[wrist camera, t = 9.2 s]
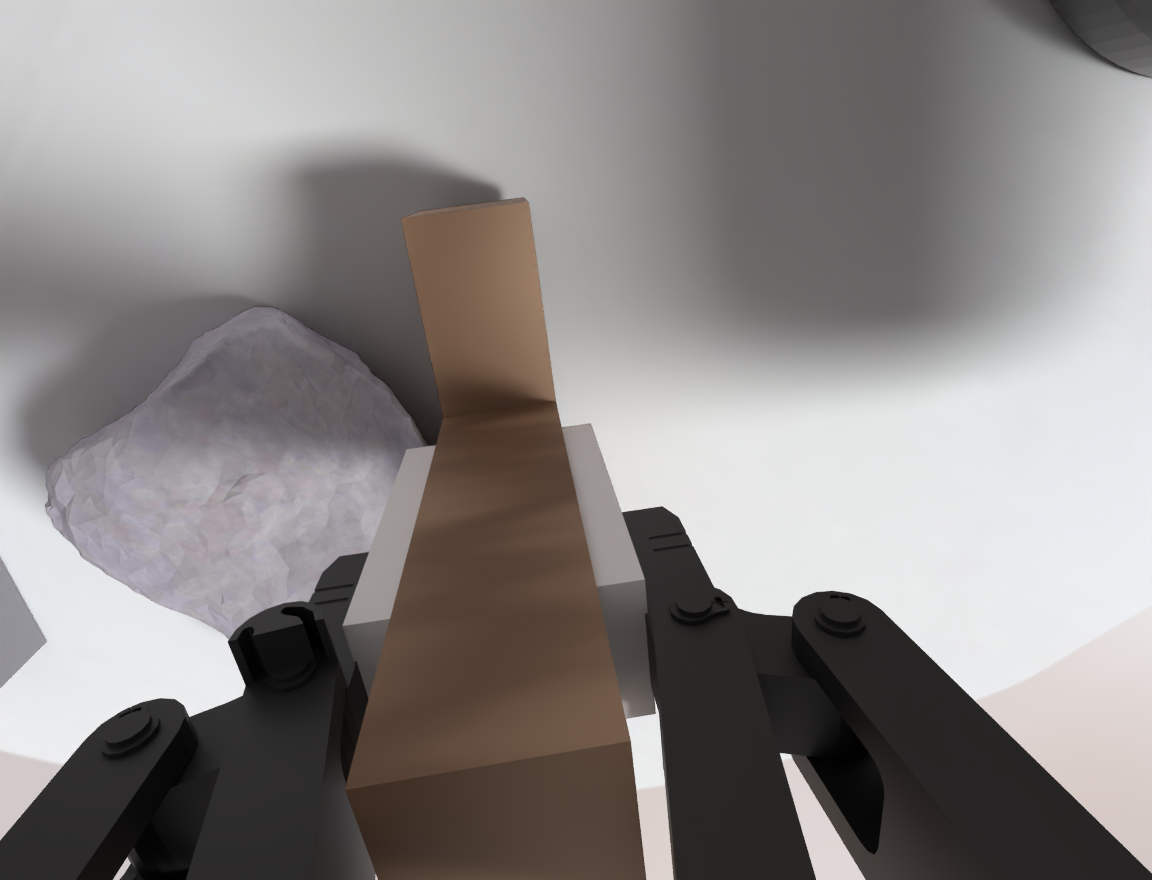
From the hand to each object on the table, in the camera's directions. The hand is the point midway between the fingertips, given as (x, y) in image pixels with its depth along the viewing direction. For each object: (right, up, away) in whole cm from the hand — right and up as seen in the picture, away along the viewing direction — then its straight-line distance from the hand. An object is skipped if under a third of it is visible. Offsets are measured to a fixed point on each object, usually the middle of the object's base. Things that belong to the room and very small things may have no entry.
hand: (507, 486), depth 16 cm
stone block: (-7, 0, +7) cm, 10 cm away
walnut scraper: (-1, +2, +5) cm, 6 cm away
